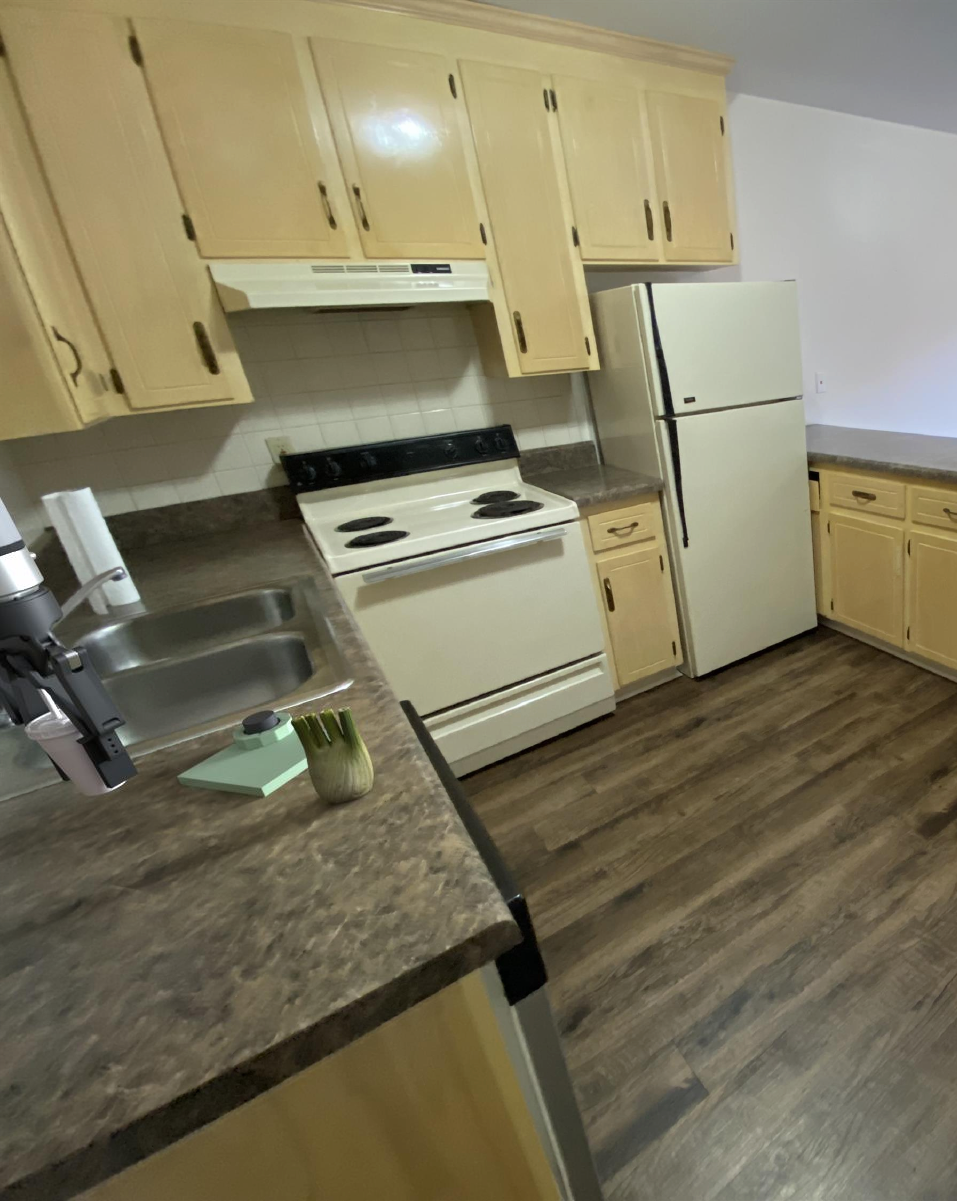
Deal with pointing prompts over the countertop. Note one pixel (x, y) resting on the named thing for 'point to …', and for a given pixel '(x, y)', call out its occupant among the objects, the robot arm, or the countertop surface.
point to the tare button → (260, 722)
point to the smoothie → (66, 748)
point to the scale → (252, 761)
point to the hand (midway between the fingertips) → (100, 776)
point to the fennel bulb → (335, 755)
